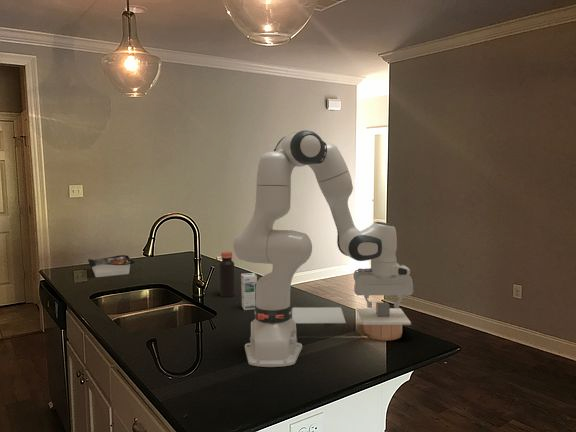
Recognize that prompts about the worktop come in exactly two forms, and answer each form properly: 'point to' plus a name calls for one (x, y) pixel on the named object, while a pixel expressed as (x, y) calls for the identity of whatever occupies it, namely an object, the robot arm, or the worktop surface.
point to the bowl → (383, 332)
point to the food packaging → (111, 266)
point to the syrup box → (248, 290)
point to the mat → (318, 315)
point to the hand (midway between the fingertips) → (383, 307)
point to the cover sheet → (376, 320)
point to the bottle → (227, 275)
